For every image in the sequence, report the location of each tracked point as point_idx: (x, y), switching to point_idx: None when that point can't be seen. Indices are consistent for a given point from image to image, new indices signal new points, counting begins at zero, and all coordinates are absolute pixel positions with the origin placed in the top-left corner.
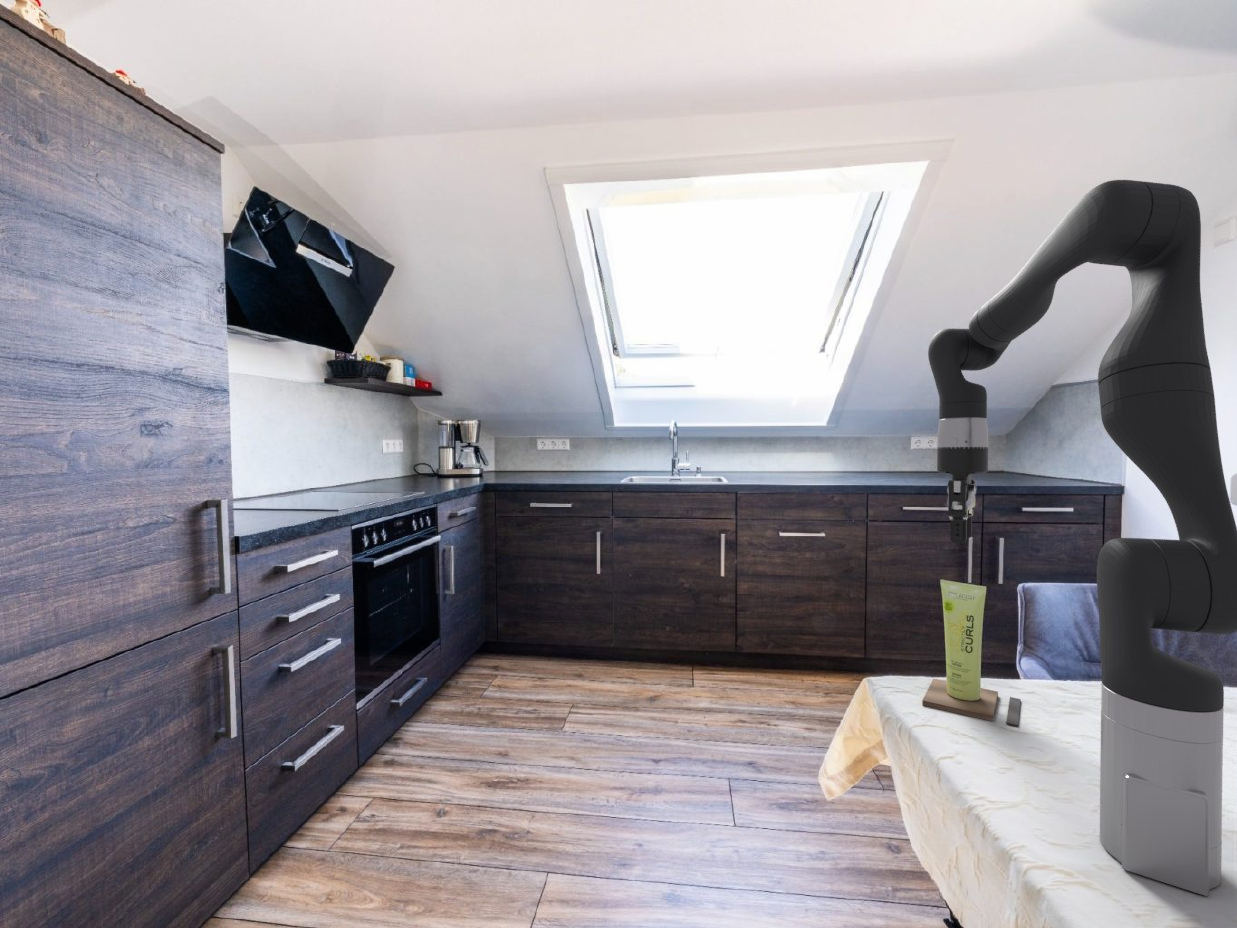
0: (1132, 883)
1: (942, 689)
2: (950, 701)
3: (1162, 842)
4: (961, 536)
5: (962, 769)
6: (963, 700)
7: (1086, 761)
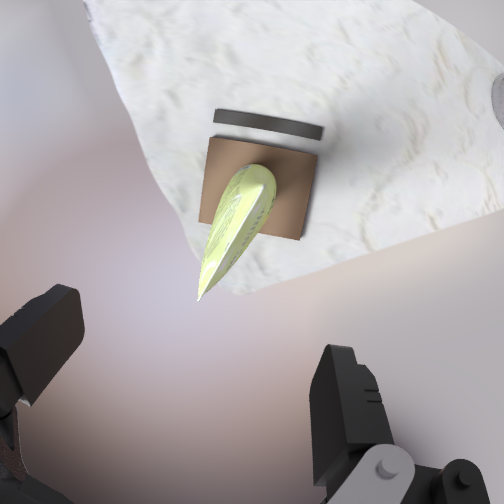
0: None
1: None
2: (286, 204)
3: None
4: (372, 383)
5: (451, 211)
6: None
7: (387, 79)
